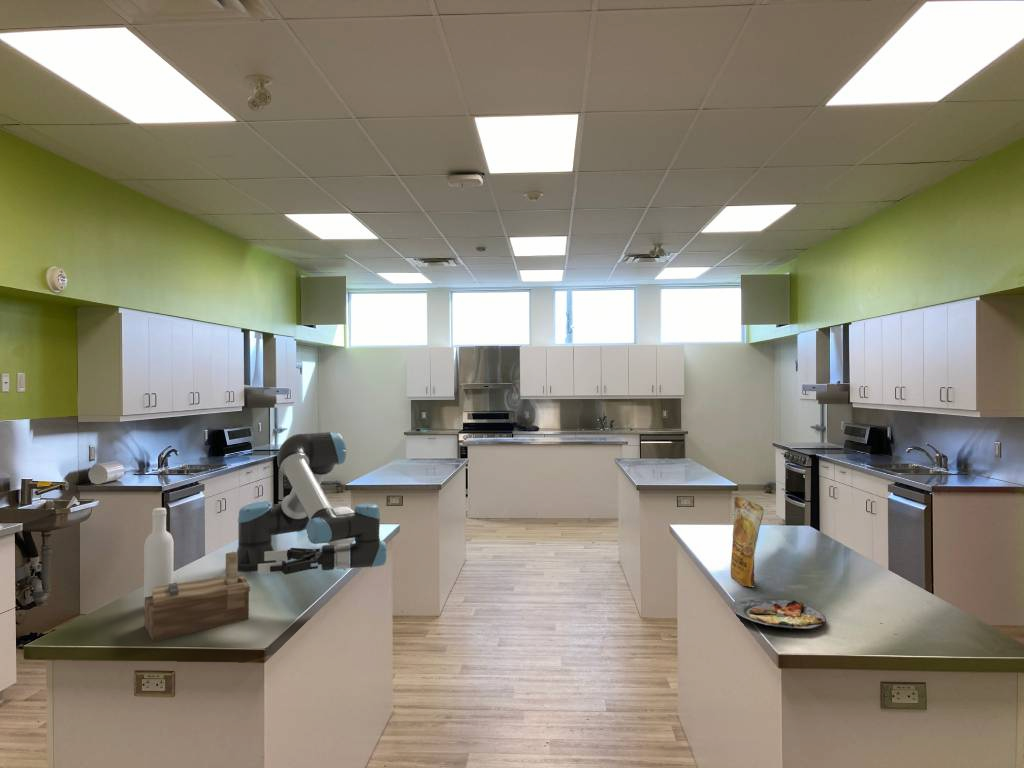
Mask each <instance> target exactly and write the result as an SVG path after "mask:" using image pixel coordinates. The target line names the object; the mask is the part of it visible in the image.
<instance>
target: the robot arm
mask: <svg viewBox="0 0 1024 768" xmlns="http://www.w3.org/2000/svg"><path fill="white" fill-rule="evenodd" d="M346 447H347V446H346V442H345V439H344V438H343V436H342V435H341V433H340V432H331V431H327V432H315V433H314V432H313V433H311V432H309V433H297V434H293V435H292V436H289V437H288V438H287V439H286V440H285V441H284V442H282V444H281V445H280V447H279V450H278V452H277V458H276V459H277V465H278V468H279V471H280V473H281V474H282V475H283V476H284V477H287V479H288V481H289V483H290V485H291V487H292V488H291V491H290V493H289V494H288V495H286V496H284V497H283V499H282V501H281V503H277V504H275V503H274V504H273V503H272V501H268V500H267V501H266V500H265V501H257V502H253V503H252V502H251V503H250V504H246V505H244V506H242V507H241V508H240V509H239V511H238V517H237V518H238V519H237V522H238V529H237V530H238V536H237V537H238V538H237V539H238V545H237V546H238V547H237V549H236V552H237V553H238V572H256V571H257V574H258V575H261V574H262V575H263V574H274V573H275V574H277V573H282V574H283V575H290V574H295V573H300V572H305V571H309V570H317V569H318V568H319V565H321V570H322V571H323V572H324V571H334V569H335V568H336V570H343V571H346V570H347V569H348V570H349V569H357V568H358V569H359V568H375V567H380V566H384V565H385V564H386V562H387V543H386V542H385V541H383V540H381V538H380V528H381V527H380V526H381V523H380V521H381V514H380V507H379V506H378V505H377V504H375V503H370V502H369V503H360V504H357V505H355V508H354V510H353V511H354V513H348V514H341V515H336V514H335V512H334V510H333V509H334V508H333V506H332V505H331V503H330V501H329V499H328V497H327V496H326V494H325V492H324V490H323V488H322V487H321V484H322V482H323V480H324V478H325V476H326V475H328V474H329V473H331V472H332V471H333V469H334V467H335V465H343V464H344V463H345V460H346V458H347V448H346ZM302 531H306V534H307V539H308V541H309V542H310V543H311V544H313V545H317V544H325V545H322V547H321V549H320V548H301V547H290V548H289V549H284V550H274V547H273V543H272V538H273V536H278V535H283V534H289V533H300V532H302ZM354 537H355V541H354V542H353V543H351V544H350V543H348V544H337V546H335V547H334V545H329V544H328V542H332V541H337V540H342V539H349V538H354ZM291 559H292V560H291ZM281 560H282V561H281ZM285 560H287V562H286V561H285ZM290 560H291V561H290ZM278 561H279V562H278Z"/></svg>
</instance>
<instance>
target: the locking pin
mask: <svg viewBox="0 0 1024 768" xmlns="http://www.w3.org/2000/svg"><path fill="white" fill-rule="evenodd" d="M238 572H239V571H238V553H237V551H232V552H227V553H225V576H226V585H230V584H236V583H238V574H239V573H238Z"/></svg>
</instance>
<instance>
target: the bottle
mask: <svg viewBox="0 0 1024 768" xmlns="http://www.w3.org/2000/svg"><path fill="white" fill-rule="evenodd" d="M167 512H168V511H167V508H166V507H156V508H153V509H152V512H151V516H152V525H151V526H152V527H151V529H152V532H151V533H150V534H148V535H147V536H146V539H145V541H144V546H143V547H144V548H143V549H144V556H143V557H144V558H143V559H144V561H143V562H144V564H143V565H144V566H143V568H144V569H143V570H144V571H143V572H144V573H143V578H144V579H143V585H144V586H143V589H144V590H143V609H144V610H145V597H149V596H152V588H153V587H159V586H166V585H169V584H171V583H174V559H175V557H174V554H175V553H174V552H175V550H174V545H175V544H174V538H173V536H172V534H171V533H170V532H169V531H167V514H168V513H167Z"/></svg>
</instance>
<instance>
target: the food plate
mask: <svg viewBox="0 0 1024 768" xmlns="http://www.w3.org/2000/svg"><path fill="white" fill-rule="evenodd" d="M761 604H764V605H767V604H772V608H773V610H774V611H773V610H769V609H758V608H752V607H755V606H762V605H761ZM781 606H784V607H781ZM731 607H732V610H733V611H734V613H735V614H736V615H739V616H740V617H741V618H744V619H747V620H749V621H751V622H752V623H758V624H762V625H765V626H773V627H775V628H779V627H780V628H786V629H788V628H789V629H790V630H792V629H801V630H802V629H803V630H804V629H808V630H814V629H818V628H819V627H823V626H825V624H826V623H827V618H826V616H825V614H823V613H822V612H821V611H819V610H818V609H815V608H813V607H811V606H809V605H807V604H804V602H801V601H800V602H798V601H796V600H792V601H790V600H787V599H786V600H785V599H781V598H779V599H778V598H773V597H772V598H770V597H756V596H753V597H752V596H751V597H742V598H741V599H737V600H734V601H733V602H732V603H731ZM750 608H752V609H751V610H749V613H747V611H748V609H750ZM777 613H780V614H782V615H783V616H788V617H777V616H757V615H776V614H777ZM802 613H804V614H807V615H803V616H802V617H801V614H802ZM748 614H749V615H748ZM790 616H791V617H790ZM796 626H797V627H796Z"/></svg>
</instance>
